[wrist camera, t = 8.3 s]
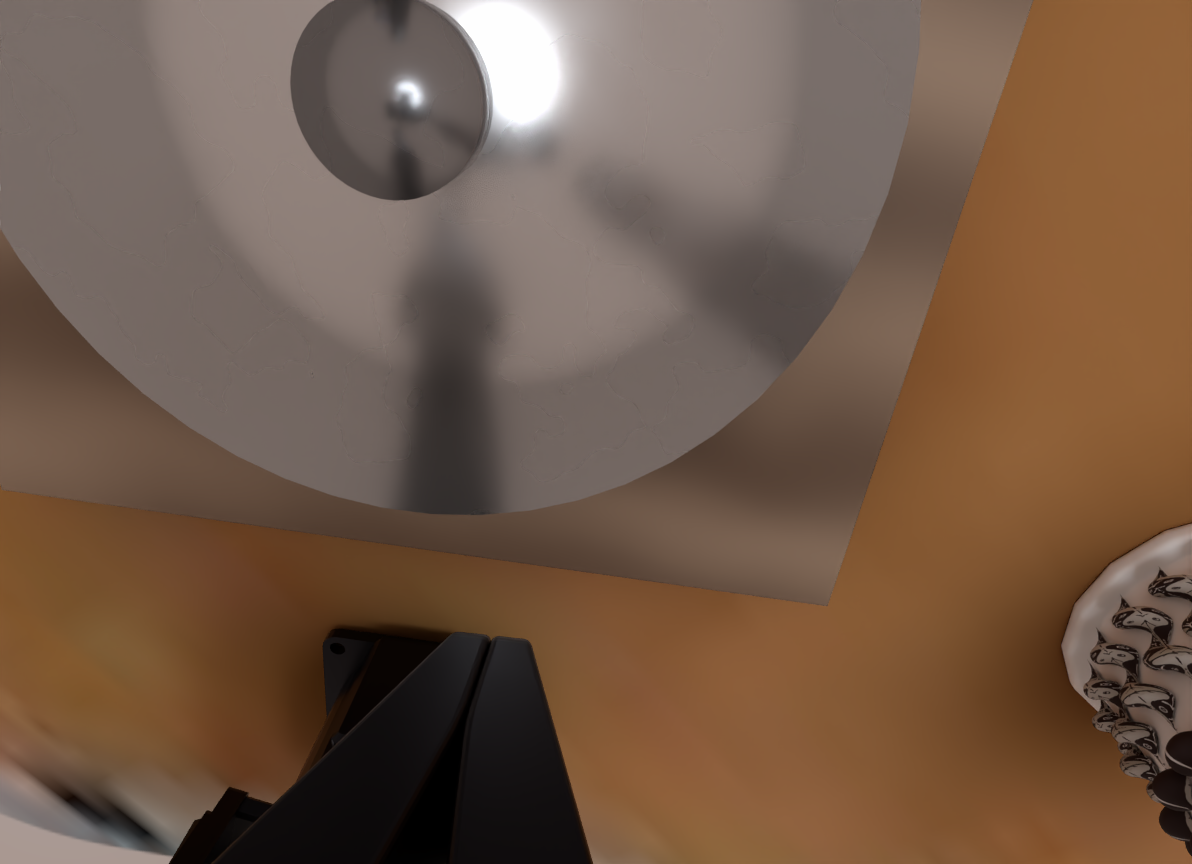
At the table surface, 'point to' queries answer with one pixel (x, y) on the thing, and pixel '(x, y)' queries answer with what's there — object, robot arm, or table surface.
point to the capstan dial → (450, 220)
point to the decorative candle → (1142, 667)
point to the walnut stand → (623, 514)
